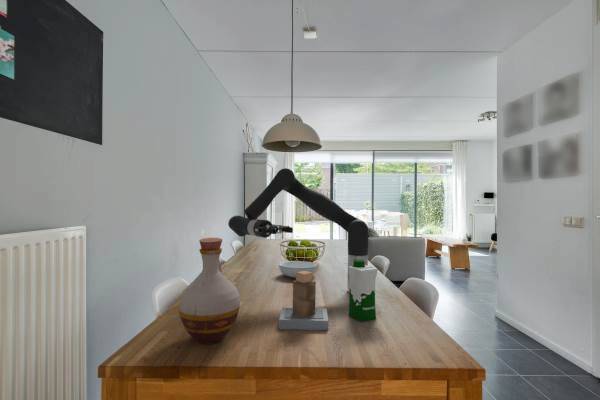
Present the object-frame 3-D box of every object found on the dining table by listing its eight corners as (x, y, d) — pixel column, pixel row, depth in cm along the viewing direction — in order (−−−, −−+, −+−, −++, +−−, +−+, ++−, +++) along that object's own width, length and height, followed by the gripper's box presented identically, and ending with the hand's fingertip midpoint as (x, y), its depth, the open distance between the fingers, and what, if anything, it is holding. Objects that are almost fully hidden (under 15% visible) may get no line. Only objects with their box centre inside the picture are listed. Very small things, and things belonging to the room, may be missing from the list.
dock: (326, 317, 118) (326, 308, 118) (328, 330, 106) (328, 320, 106) (282, 316, 119) (282, 307, 119) (278, 328, 107) (279, 319, 107)
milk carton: (364, 311, 125) (364, 258, 125) (380, 319, 117) (380, 263, 117) (345, 314, 121) (345, 260, 121) (360, 323, 113) (361, 264, 113)
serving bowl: (317, 281, 172) (317, 268, 172) (277, 280, 172) (277, 267, 172) (315, 272, 193) (316, 260, 193) (280, 272, 193) (280, 260, 193)
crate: (304, 309, 116) (304, 278, 116) (315, 313, 112) (315, 281, 112) (292, 313, 113) (292, 280, 113) (303, 317, 109) (304, 284, 109)
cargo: (304, 279, 115) (304, 270, 115) (312, 281, 112) (312, 272, 112) (296, 281, 113) (296, 272, 113) (304, 283, 110) (304, 274, 110)
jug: (193, 324, 109) (194, 234, 110) (246, 325, 109) (247, 235, 109) (167, 351, 90) (168, 242, 90) (232, 353, 89) (233, 243, 89)
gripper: (246, 220, 137) (270, 221, 126) (272, 219, 147) (297, 220, 135) (246, 238, 137) (269, 241, 126) (272, 235, 147) (297, 238, 135)
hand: (284, 230), depth 130 cm, fingers open, 8 cm apart
